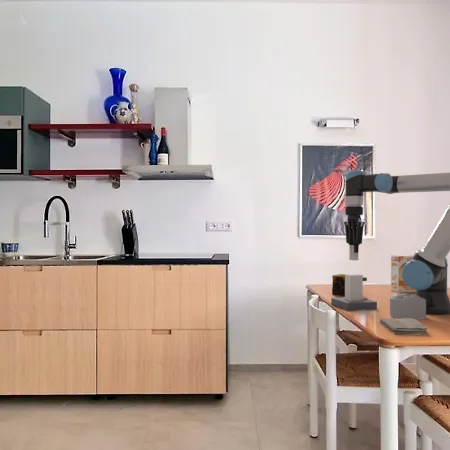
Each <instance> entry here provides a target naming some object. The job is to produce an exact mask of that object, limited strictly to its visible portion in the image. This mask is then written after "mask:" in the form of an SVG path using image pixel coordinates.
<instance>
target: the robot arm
mask: <svg viewBox="0 0 450 450" xmlns="http://www.w3.org/2000/svg"><path fill="white" fill-rule="evenodd" d="M344 182H345V196H344V197H345V201H344V204H345V207H344V208H345V209H344V210H345V211H344V213H345V215H346V216H347V219H346V220H347V221H343V224H344V229H345V242H346V244H348V246H349V248H348V249H349V251H348V253H349V255H348V256H349V257H348V259H349V261H359V252H360V251H359V250H360V249H359V246H360V245H362V244H363V236H364V235H363V234H364V227H365V223H366V222H365V221H362V217H361V216H363V214H364V206H363V205H364V193H381V194H387V195H392V194H402V193H403V194H404V193H431V192H435V193H436V192H450V172H437V173H425V174H424V173H421V174H405V175H404V174H403V175H391V174H390V173H388V172H387V173H386V172H385V173H382V172H380V173H372V174H364V171H363V170H359V169H355V170H347V171H346V173H345V181H344ZM449 253H450V204H449V205H448V206H447V208H446V210H445V212H444V213H443V214H442V217H441V218H440V220H439V221H438V223H437V225H436V226H435V228H434V230H433V231H432V233H431V234H430V236H429V237H428V239H427V241H426V243H425V244H424V246H423V248H421V249H417V250H416V251H415V252H414V254H413V255H414V256H413V258H412V259H411V261H409V262H408V263H406V264H405V265H404V267H403V269H402V277H403V280H404V282H405V283H406V285H407V286H409V287H410V288H412V289H415V290H417V291H416V292H415V295H418V296H419V297H421V298H424V299H426V314H432V315H446V314H447V315H449V314H450V298H449V295H448V265H449V264H448V259H447V256H448V254H449Z"/></svg>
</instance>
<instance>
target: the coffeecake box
mask: <svg viewBox="0 0 450 450" xmlns="http://www.w3.org/2000/svg"><path fill="white" fill-rule="evenodd" d="M414 255H415V254H408V255H406V254H399V255H398V254H397V255H393V254H392V255H391V256H390V291H391V292H394V293H396V294H404V293H416V291H417V290H415V289H412V288H410V287H409V286H407V285H406V283H405V282H404V280H403V277H402V269H403V267H404V265H405V264H406V263H408V262H409V261H411V259H412V258H413V256H414Z"/></svg>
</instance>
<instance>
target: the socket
mask: <svg viewBox="0 0 450 450" xmlns="http://www.w3.org/2000/svg"><path fill="white" fill-rule="evenodd" d="M330 301H331V302H330V303H331V305H332V306H335V307H336V308H340V309H343V310H346V311H360V310H361V311H362V309H366V310H377V309H378V302H377V301H375V300H371V299H368V297H366V296H363V300H361V301H349V300H346V299H345V296H341V297H340V296H339V297H331V299H330Z"/></svg>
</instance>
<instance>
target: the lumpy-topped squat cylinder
mask: <svg viewBox="0 0 450 450" xmlns="http://www.w3.org/2000/svg"><path fill="white" fill-rule="evenodd" d="M389 314H390V318H393V317H394V318H393V319H401V318H413V319H415V320H422V319H421V318H424V319H427V313H426V299H424V298H421V297H419V296H418V295H416V293H415V294H410V293H409V292H403V293H394V294H393V295H391V296H390V297H389Z"/></svg>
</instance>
